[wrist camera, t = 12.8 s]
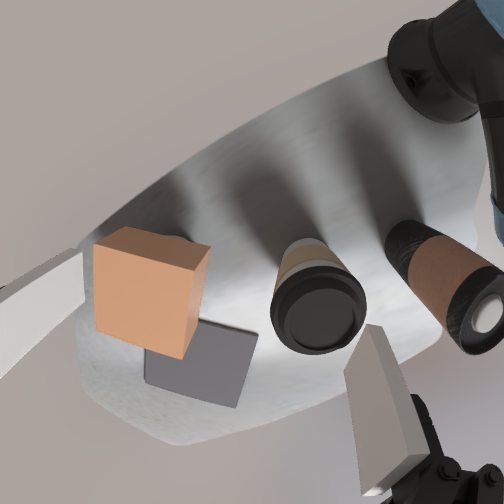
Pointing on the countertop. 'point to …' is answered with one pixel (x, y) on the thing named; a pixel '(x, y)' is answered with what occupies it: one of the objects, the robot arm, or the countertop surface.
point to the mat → (205, 365)
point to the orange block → (149, 289)
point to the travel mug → (450, 284)
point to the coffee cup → (316, 300)
